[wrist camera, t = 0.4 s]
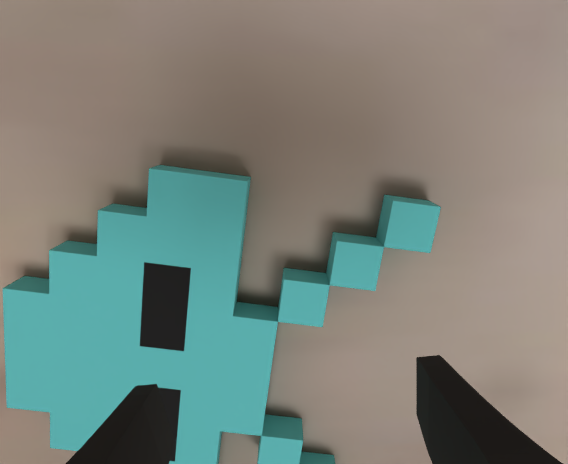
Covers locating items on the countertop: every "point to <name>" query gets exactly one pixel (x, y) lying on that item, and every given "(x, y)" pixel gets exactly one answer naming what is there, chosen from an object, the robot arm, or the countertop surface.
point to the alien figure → (178, 317)
